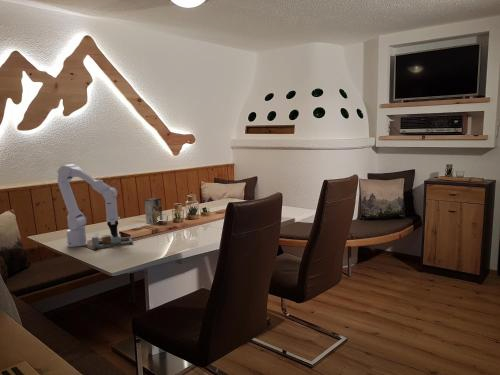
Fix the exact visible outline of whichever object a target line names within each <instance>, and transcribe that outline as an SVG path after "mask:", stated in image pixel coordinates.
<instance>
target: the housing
mask: <svg viewBox="0 0 500 375" xmlns="http://www.w3.org/2000/svg"><path fill="white" fill-rule="evenodd" d="M101 240H102V244H101V245H104V244H111V233H110V234H103V235H101Z"/></svg>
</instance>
